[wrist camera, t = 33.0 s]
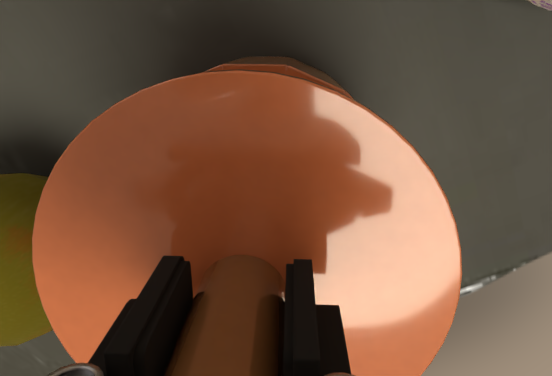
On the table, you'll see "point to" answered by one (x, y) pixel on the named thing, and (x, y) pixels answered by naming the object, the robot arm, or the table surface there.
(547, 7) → the paper bowls
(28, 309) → the apple
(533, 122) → the table surface
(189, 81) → the lid
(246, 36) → the table surface
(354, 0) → the table surface
